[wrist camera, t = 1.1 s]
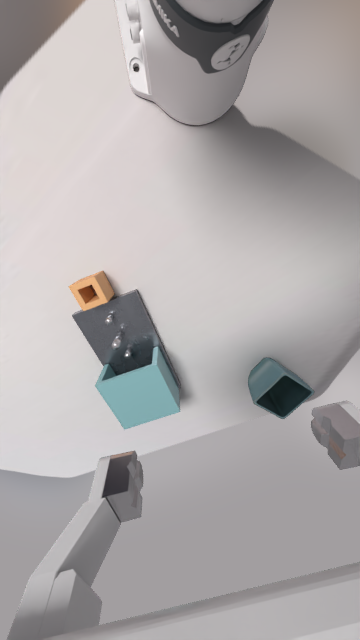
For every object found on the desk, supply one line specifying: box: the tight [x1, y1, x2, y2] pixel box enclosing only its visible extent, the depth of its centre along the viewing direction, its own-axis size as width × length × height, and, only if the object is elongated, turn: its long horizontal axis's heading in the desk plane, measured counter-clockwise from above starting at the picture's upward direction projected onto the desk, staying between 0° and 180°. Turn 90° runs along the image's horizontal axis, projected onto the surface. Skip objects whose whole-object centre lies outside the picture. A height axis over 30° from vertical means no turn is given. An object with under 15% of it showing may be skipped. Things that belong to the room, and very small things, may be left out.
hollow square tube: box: [69, 271, 115, 311], centre depth 37 cm, size 5×5×5 cm
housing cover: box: [95, 346, 180, 429], centre depth 43 cm, size 12×12×6 cm
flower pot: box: [248, 358, 314, 419], centre depth 45 cm, size 9×9×9 cm
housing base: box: [72, 289, 181, 388], centre depth 43 cm, size 24×13×6 cm, turn 20°
